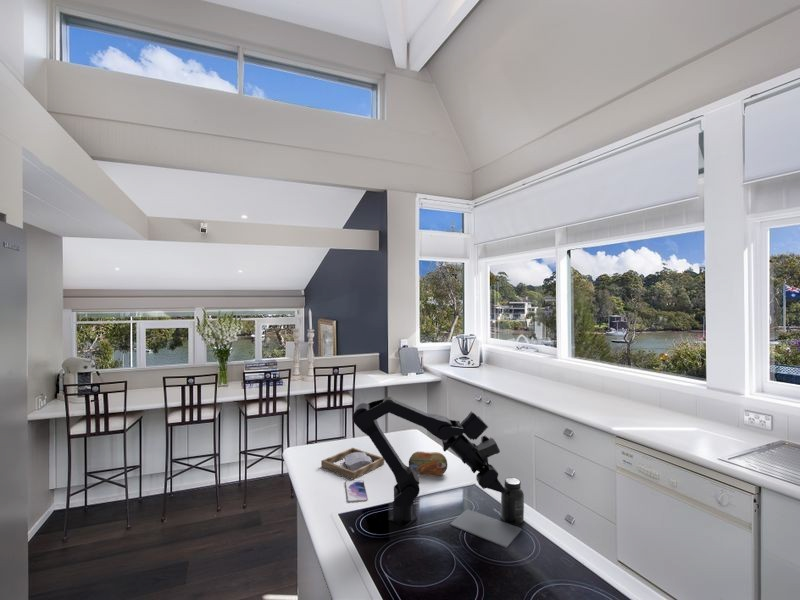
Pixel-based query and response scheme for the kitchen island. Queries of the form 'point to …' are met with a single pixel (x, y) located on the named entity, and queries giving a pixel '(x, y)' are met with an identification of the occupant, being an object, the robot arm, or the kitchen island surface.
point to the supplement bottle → (512, 502)
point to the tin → (428, 463)
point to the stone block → (357, 460)
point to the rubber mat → (486, 527)
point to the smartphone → (355, 491)
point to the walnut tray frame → (346, 472)
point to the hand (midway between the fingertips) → (500, 484)
